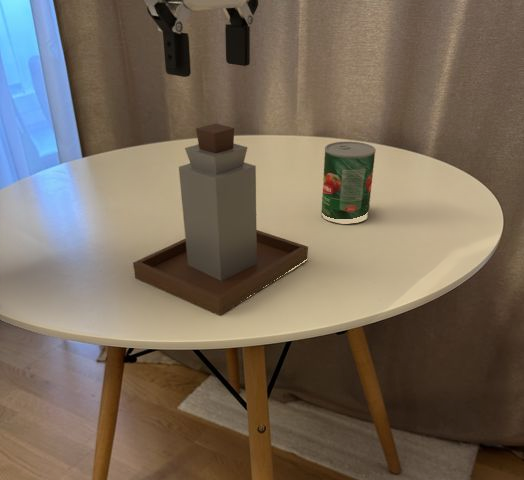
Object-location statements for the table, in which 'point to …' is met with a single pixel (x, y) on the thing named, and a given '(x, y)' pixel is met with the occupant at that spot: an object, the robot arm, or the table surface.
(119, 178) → the table surface
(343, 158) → the canned tomato
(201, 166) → the perfume bottle
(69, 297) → the table surface
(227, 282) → the tray
